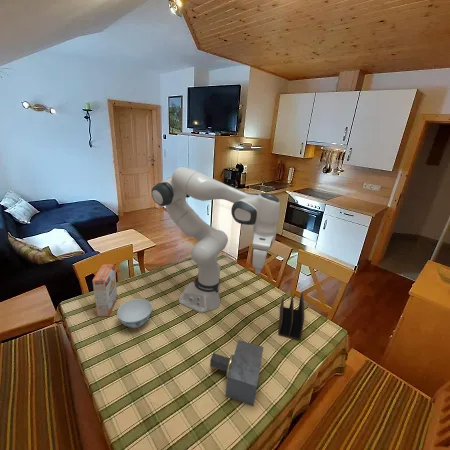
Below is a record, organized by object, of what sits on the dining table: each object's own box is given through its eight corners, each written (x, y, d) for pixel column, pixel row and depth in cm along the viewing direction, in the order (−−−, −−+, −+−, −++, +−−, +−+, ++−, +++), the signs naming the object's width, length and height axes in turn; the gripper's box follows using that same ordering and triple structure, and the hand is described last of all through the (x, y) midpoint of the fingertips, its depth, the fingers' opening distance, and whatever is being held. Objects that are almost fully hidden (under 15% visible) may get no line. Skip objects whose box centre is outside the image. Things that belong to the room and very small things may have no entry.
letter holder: (298, 312, 125) (304, 290, 120) (300, 341, 107) (306, 317, 102) (279, 307, 128) (284, 286, 122) (277, 335, 110) (282, 311, 104)
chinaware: (159, 323, 111) (158, 310, 108) (128, 341, 100) (126, 327, 98) (142, 306, 120) (141, 294, 117) (113, 321, 110) (111, 308, 107)
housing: (225, 396, 83) (227, 376, 79) (236, 357, 97) (238, 339, 93) (253, 406, 80) (256, 386, 77) (260, 365, 95) (263, 347, 91)
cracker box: (110, 316, 112) (105, 280, 105) (96, 317, 112) (91, 280, 104) (118, 297, 125) (114, 263, 118) (106, 297, 124) (101, 263, 117)
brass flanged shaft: (207, 374, 88) (208, 360, 85) (214, 358, 94) (215, 345, 92) (247, 388, 84) (249, 374, 82) (251, 370, 91) (253, 356, 88)
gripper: (259, 225, 100) (255, 253, 105) (251, 245, 82) (247, 278, 87) (274, 227, 99) (269, 256, 104) (269, 248, 80) (264, 282, 86)
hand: (259, 266), depth 95 cm, fingers open, 8 cm apart
